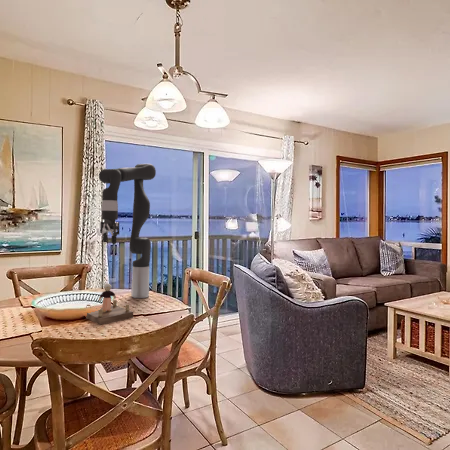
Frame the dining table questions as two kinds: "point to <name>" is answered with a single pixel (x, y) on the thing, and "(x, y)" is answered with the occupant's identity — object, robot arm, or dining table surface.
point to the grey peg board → (110, 314)
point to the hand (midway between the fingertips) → (109, 242)
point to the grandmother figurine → (107, 298)
